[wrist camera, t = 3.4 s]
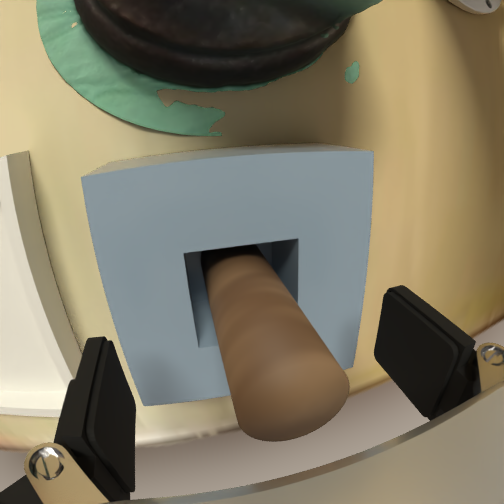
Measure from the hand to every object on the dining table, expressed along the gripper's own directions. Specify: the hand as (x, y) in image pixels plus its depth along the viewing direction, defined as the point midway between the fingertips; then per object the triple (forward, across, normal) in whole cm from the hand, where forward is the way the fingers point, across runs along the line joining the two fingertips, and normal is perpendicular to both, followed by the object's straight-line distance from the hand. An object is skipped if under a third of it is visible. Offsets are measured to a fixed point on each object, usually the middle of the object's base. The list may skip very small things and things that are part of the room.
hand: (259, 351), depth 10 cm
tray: (+8, +18, +1) cm, 20 cm away
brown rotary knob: (+8, -1, -16) cm, 19 cm away
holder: (+8, 0, 0) cm, 8 cm away
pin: (+7, 0, 0) cm, 7 cm away
